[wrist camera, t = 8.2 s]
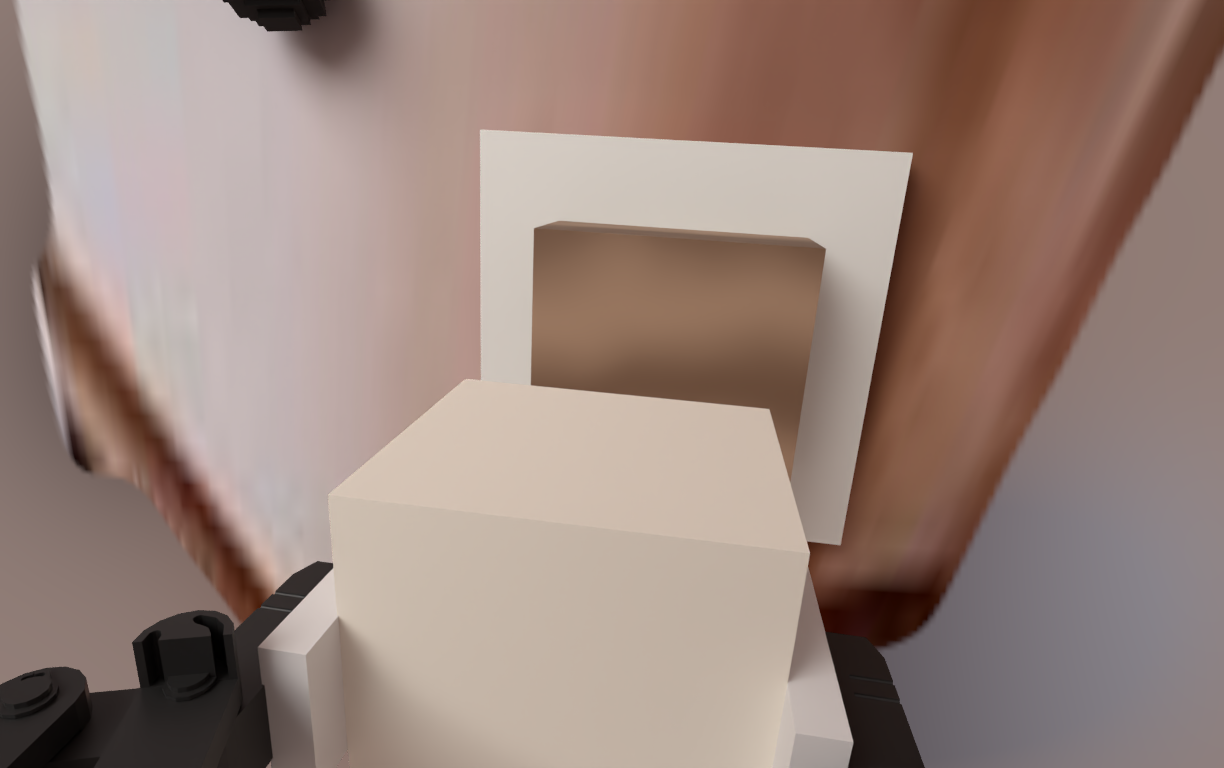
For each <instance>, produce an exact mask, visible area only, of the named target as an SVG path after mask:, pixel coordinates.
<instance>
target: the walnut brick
mask: <svg viewBox="0 0 1224 768" xmlns="http://www.w3.org/2000/svg"><path fill="white" fill-rule="evenodd" d="M825 253H826V248H824V247H823V246H821V245H819V244H818V243H816V242H814V241H813V240H811V239H809V238H804V237H789V236H775V235H760V234H746V233H731V232H717V231H702V230H688V229H673V228H659V227H644V226H630V225H615V224H601V223H586V222H572V221H556V222H553V223H549V224H546V225H543V226H539V227H536V228H534V248H533V297H532V346H531V385H532V386H542V387H552V388H562V389H572V390H583V391H593V392H603V393H613V394H623V395H633V396H643V397H653V398H663V399H674V400H684V401H694V402H704V403H714V404H724V405H734V406H744V407H754V408H764V409H769V410H770V413H771V417H772V420H773V424H774V427H775V431H776V434H777V438H778V442H779V445H780V449H781V452H782V456H783V459H784V463H785V466H786V470H787V473H788V477H789V481H790V482H791V475H792V469H793V462H794V455H795V449H796V442H797V436H798V429H799V423H800V416H801V410H802V403H803V397H804V390H805V384H806V377H807V371H808V364H809V358H810V351H811V345H812V338H813V332H814V325H815V319H816V312H817V305H818V299H819V292H820V286H821V279H822V273H823V266H824V260H825Z"/></svg>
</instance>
